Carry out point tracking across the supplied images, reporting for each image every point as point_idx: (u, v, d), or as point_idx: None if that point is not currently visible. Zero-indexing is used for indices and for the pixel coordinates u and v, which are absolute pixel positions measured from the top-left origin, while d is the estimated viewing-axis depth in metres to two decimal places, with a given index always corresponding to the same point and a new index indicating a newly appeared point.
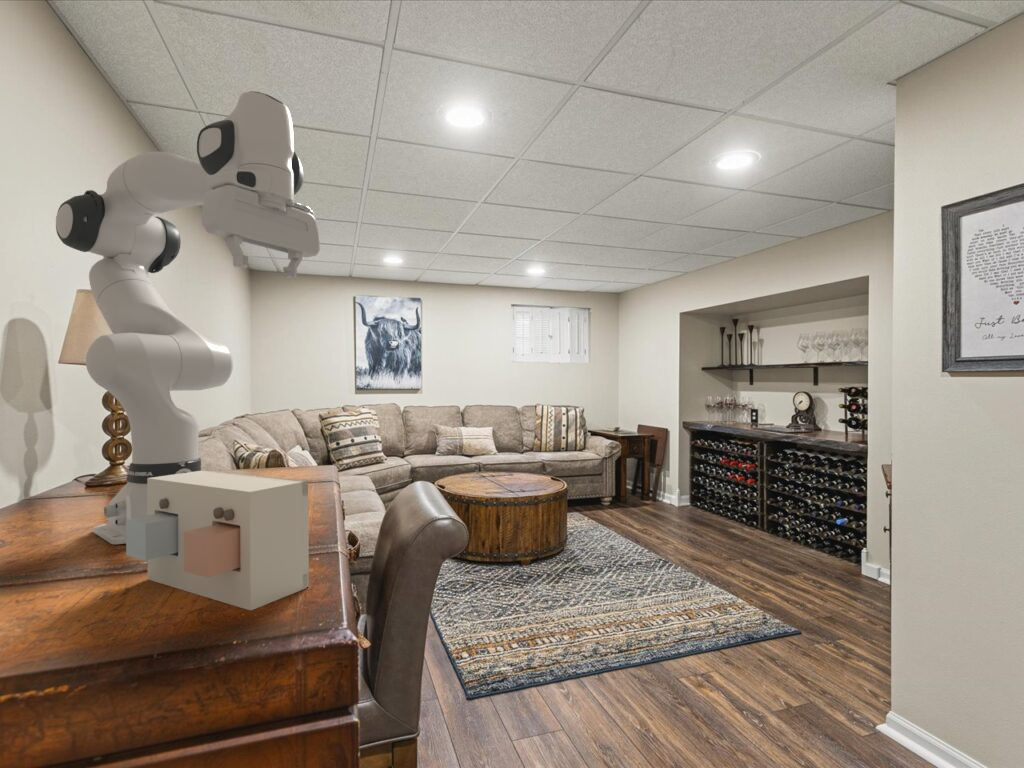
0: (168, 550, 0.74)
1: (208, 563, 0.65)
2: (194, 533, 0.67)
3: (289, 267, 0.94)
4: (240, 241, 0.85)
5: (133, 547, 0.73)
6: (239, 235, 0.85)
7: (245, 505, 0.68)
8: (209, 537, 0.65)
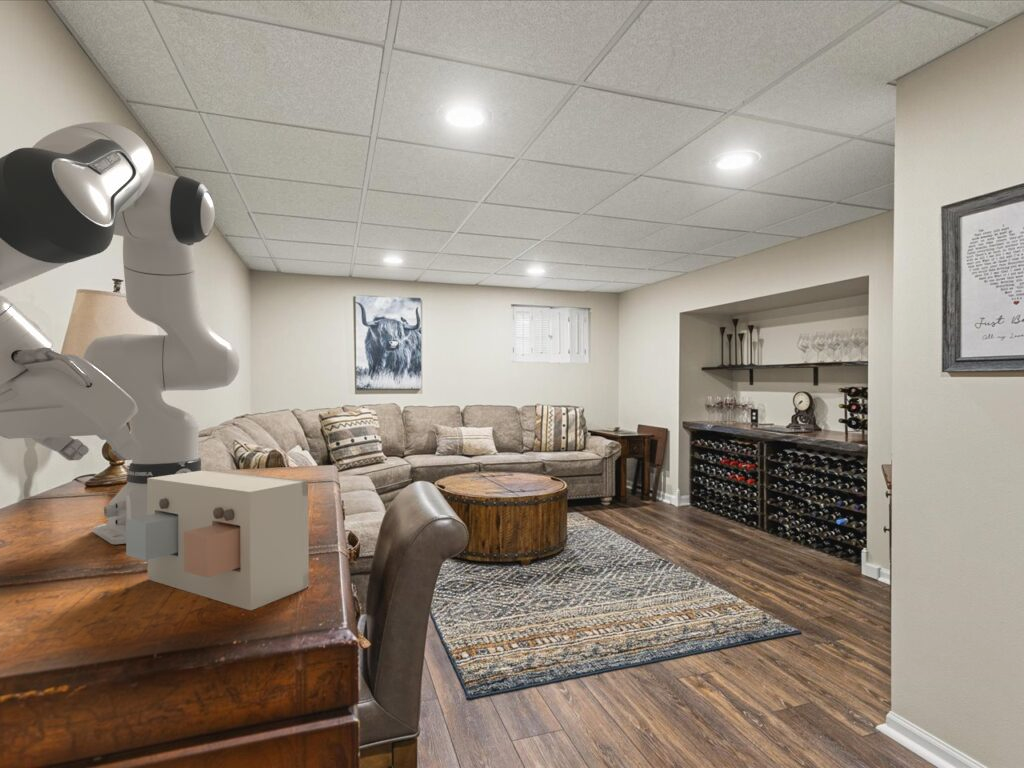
0: (168, 550, 0.74)
1: (208, 563, 0.65)
2: (194, 533, 0.67)
3: None
4: (39, 439, 0.56)
5: (133, 547, 0.73)
6: None
7: (245, 505, 0.68)
8: (209, 537, 0.65)
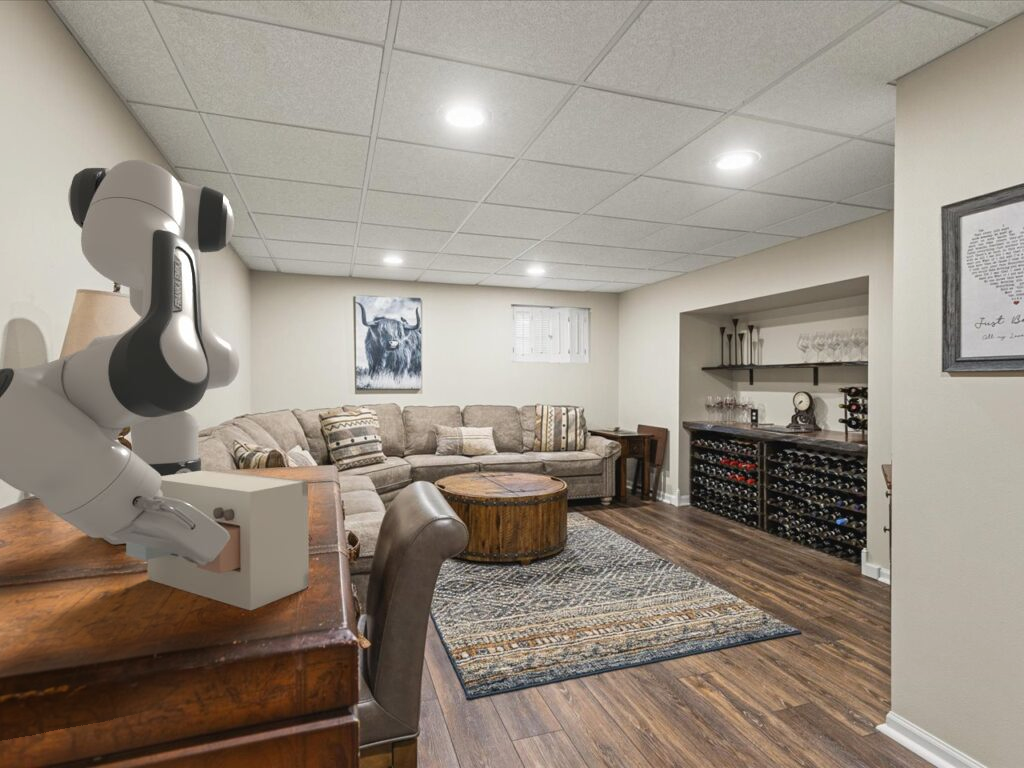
0: None
1: (221, 559, 0.67)
2: None
3: (189, 557, 0.66)
4: None
5: (133, 547, 0.73)
6: None
7: (245, 505, 0.68)
8: None
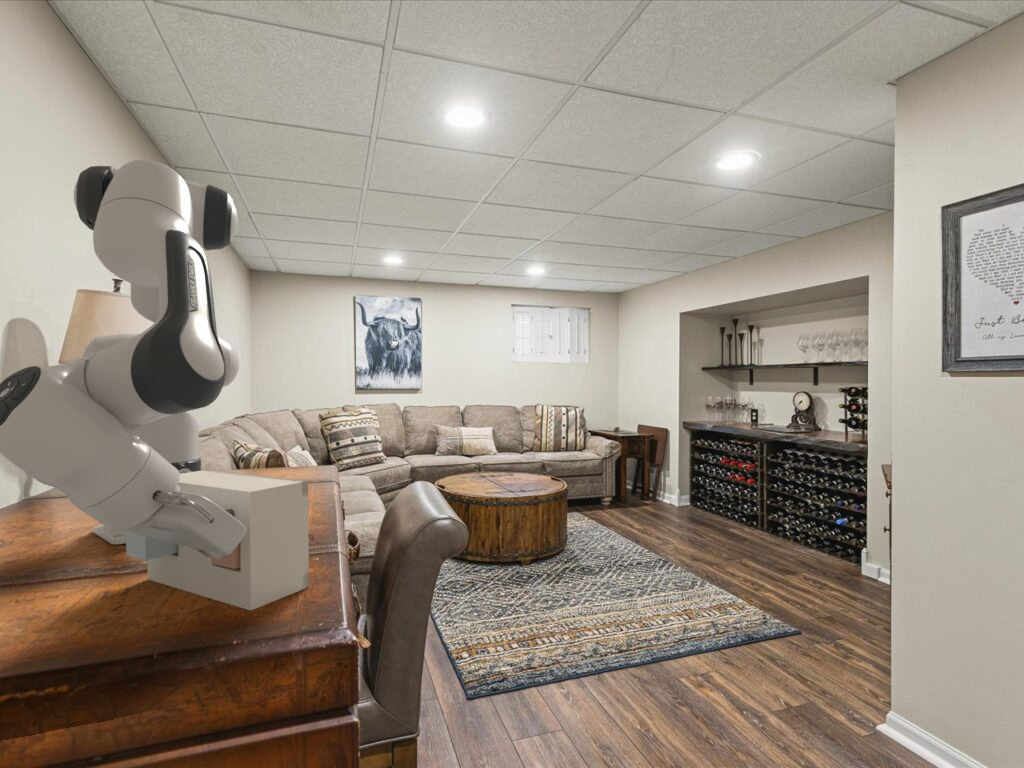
0: (168, 550, 0.74)
1: (236, 555, 0.68)
2: None
3: (205, 551, 0.67)
4: None
5: (133, 547, 0.73)
6: None
7: (245, 505, 0.68)
8: None
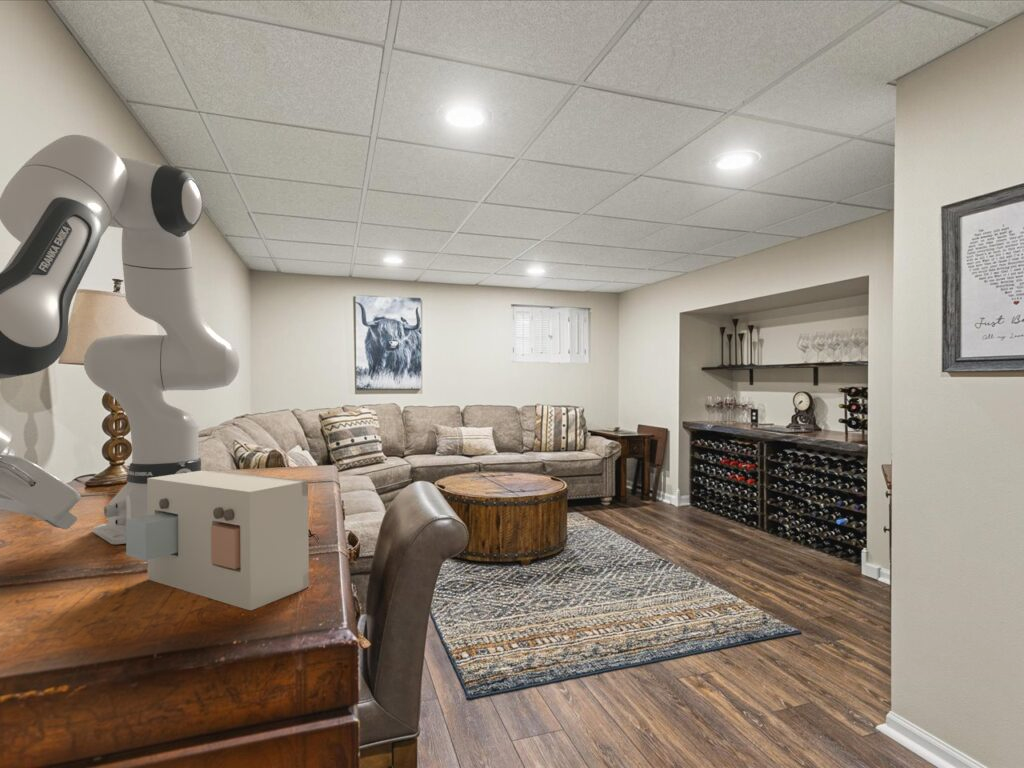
0: (168, 550, 0.74)
1: (236, 555, 0.68)
2: (221, 526, 0.70)
3: (51, 521, 0.65)
4: None
5: (133, 547, 0.73)
6: None
7: (245, 505, 0.68)
8: (236, 531, 0.68)
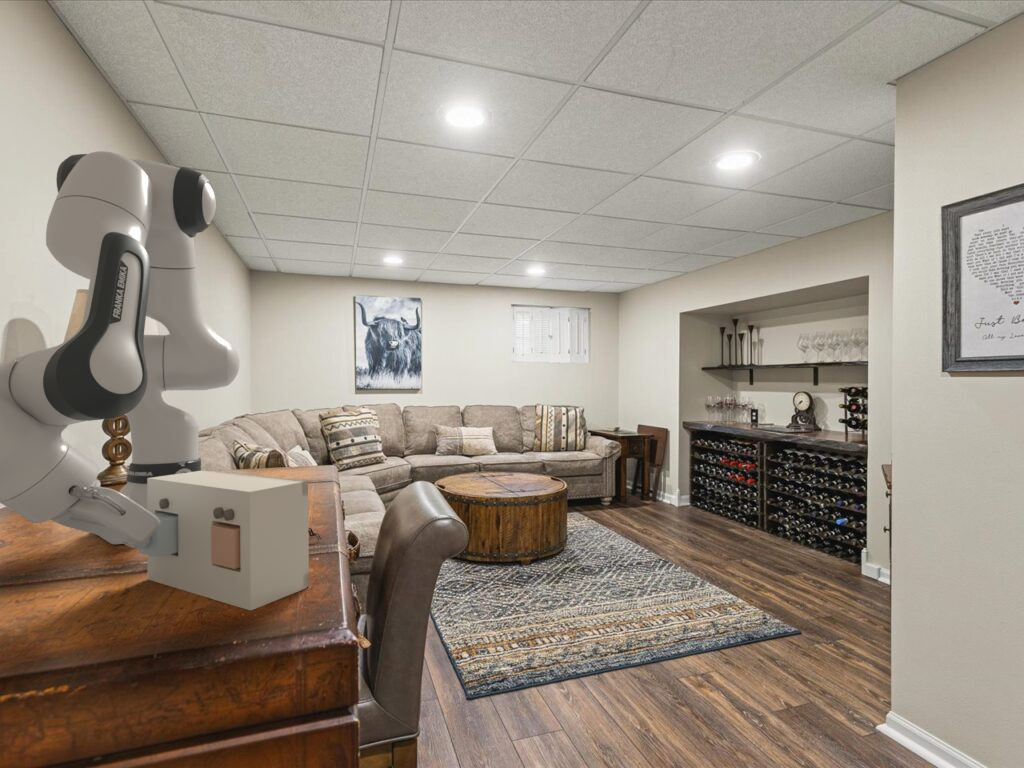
0: None
1: (236, 555, 0.68)
2: (221, 526, 0.70)
3: (128, 542, 0.73)
4: None
5: None
6: None
7: (245, 505, 0.68)
8: (236, 531, 0.68)
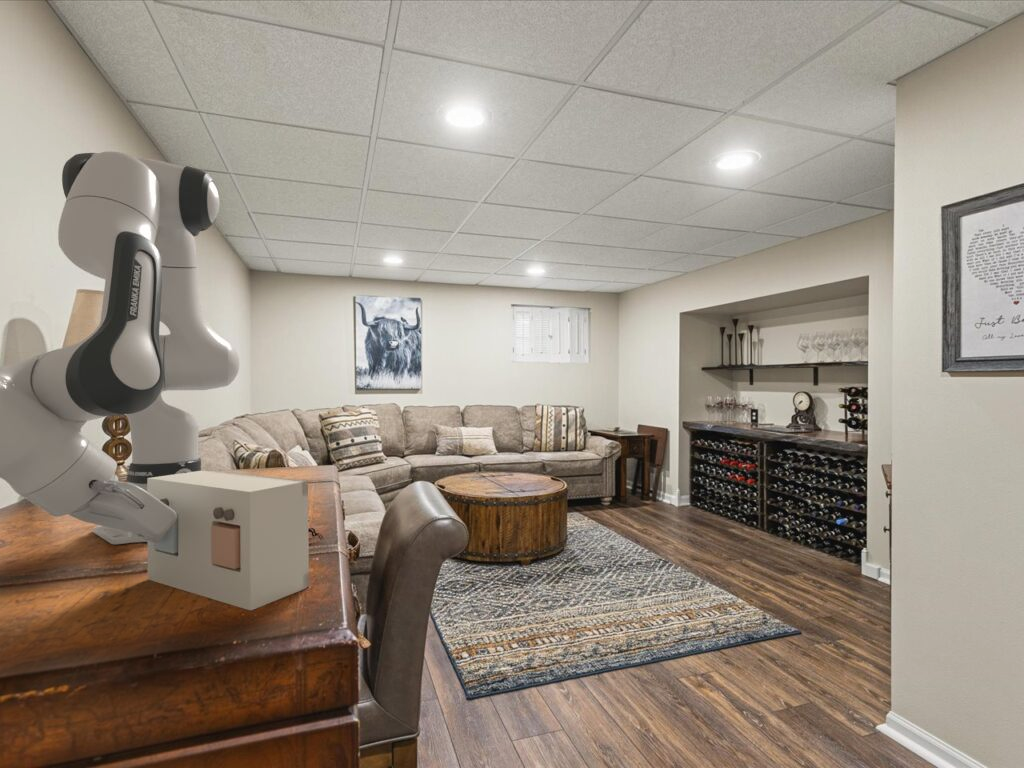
0: None
1: (236, 555, 0.68)
2: (221, 526, 0.70)
3: (144, 536, 0.74)
4: None
5: None
6: None
7: (245, 505, 0.68)
8: (236, 531, 0.68)
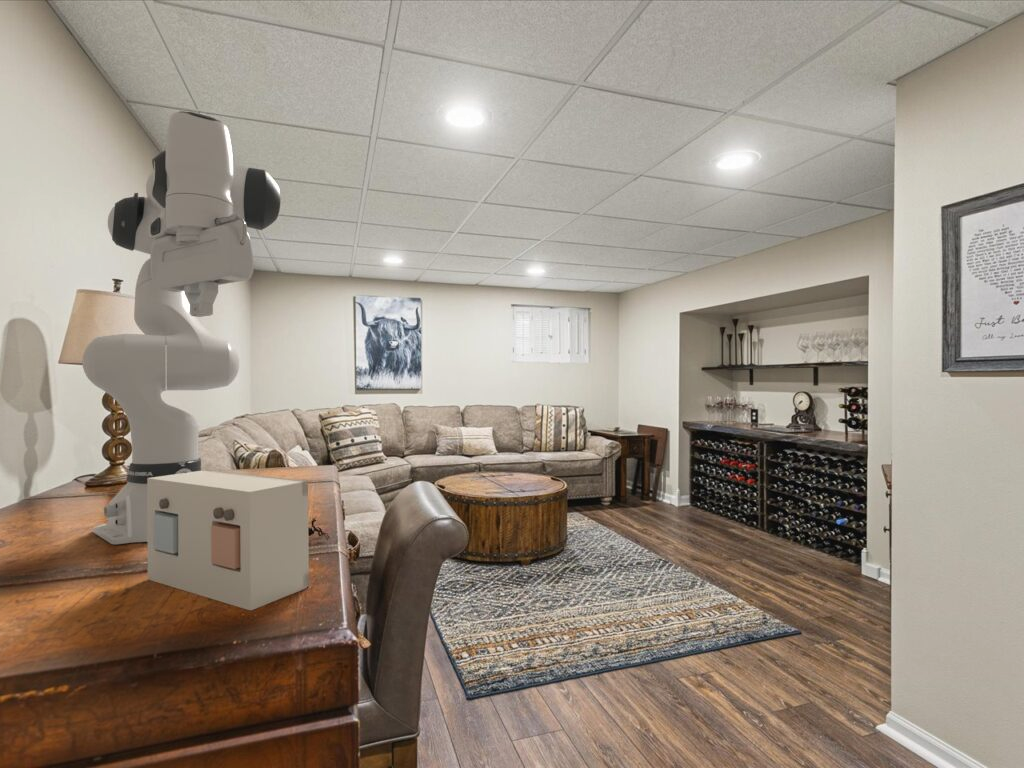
0: None
1: (236, 555, 0.68)
2: (221, 526, 0.70)
3: None
4: (188, 290, 0.79)
5: (160, 540, 0.77)
6: (169, 287, 0.81)
7: (245, 505, 0.68)
8: (236, 531, 0.68)
